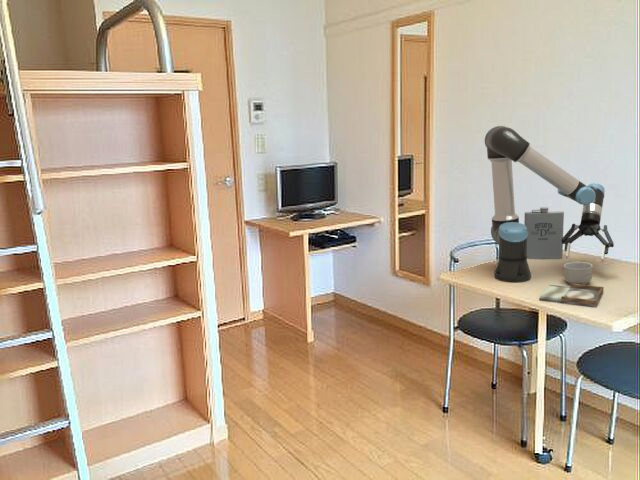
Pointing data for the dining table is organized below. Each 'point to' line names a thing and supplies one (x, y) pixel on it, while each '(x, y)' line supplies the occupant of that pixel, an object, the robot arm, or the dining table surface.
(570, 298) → the board
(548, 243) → the flask
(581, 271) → the teacup
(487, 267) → the dining table surface
